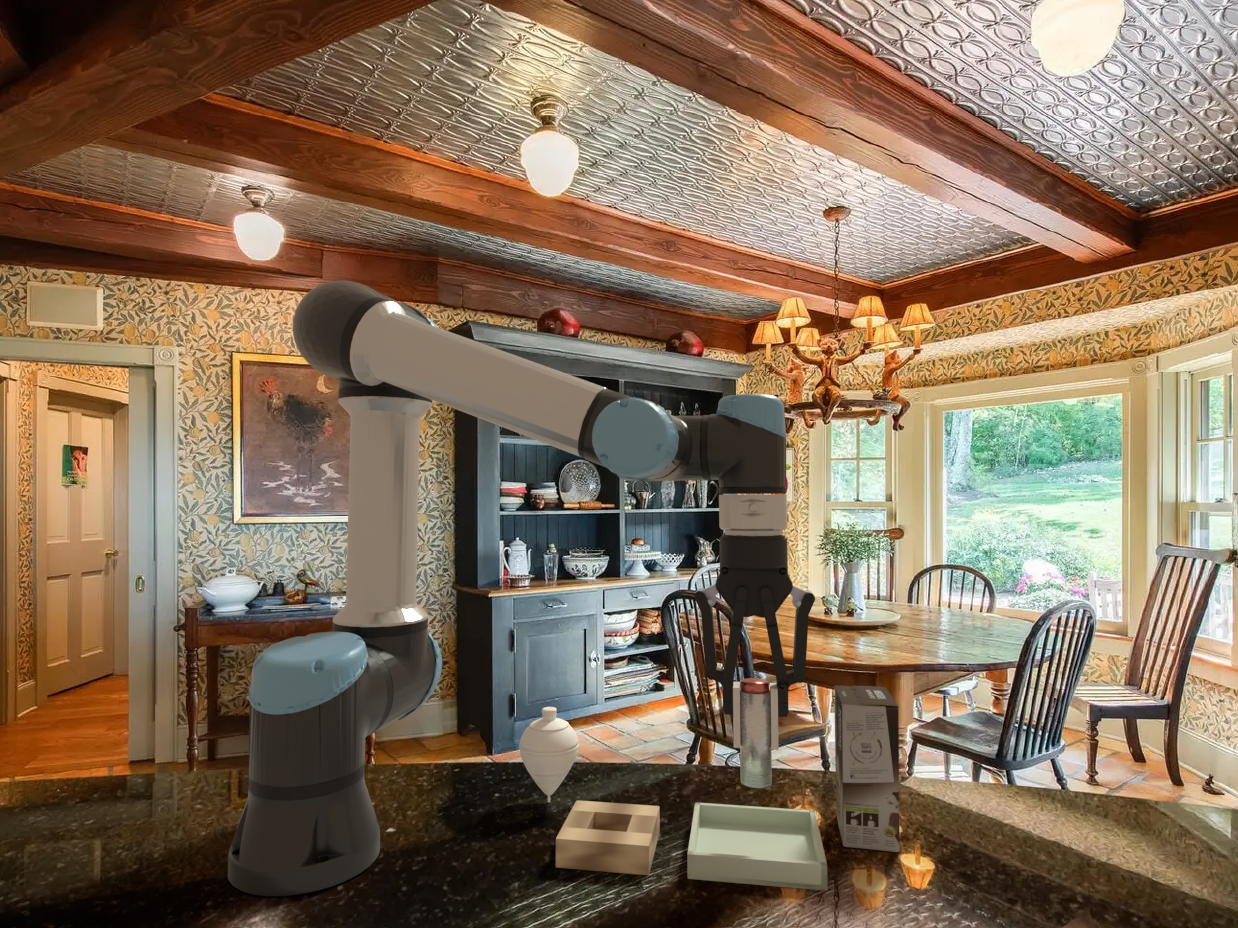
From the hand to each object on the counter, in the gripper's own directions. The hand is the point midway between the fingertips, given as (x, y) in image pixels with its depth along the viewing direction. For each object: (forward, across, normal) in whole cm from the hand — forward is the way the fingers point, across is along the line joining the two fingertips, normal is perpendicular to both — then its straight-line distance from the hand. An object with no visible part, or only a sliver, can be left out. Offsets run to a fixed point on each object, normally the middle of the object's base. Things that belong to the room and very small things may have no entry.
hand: (755, 744), depth 82 cm
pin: (+4, 0, 0) cm, 4 cm away
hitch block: (+12, -16, -2) cm, 20 cm away
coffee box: (+12, +13, +8) cm, 19 cm away
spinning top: (+12, -26, +10) cm, 30 cm away
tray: (+12, 0, 0) cm, 12 cm away
